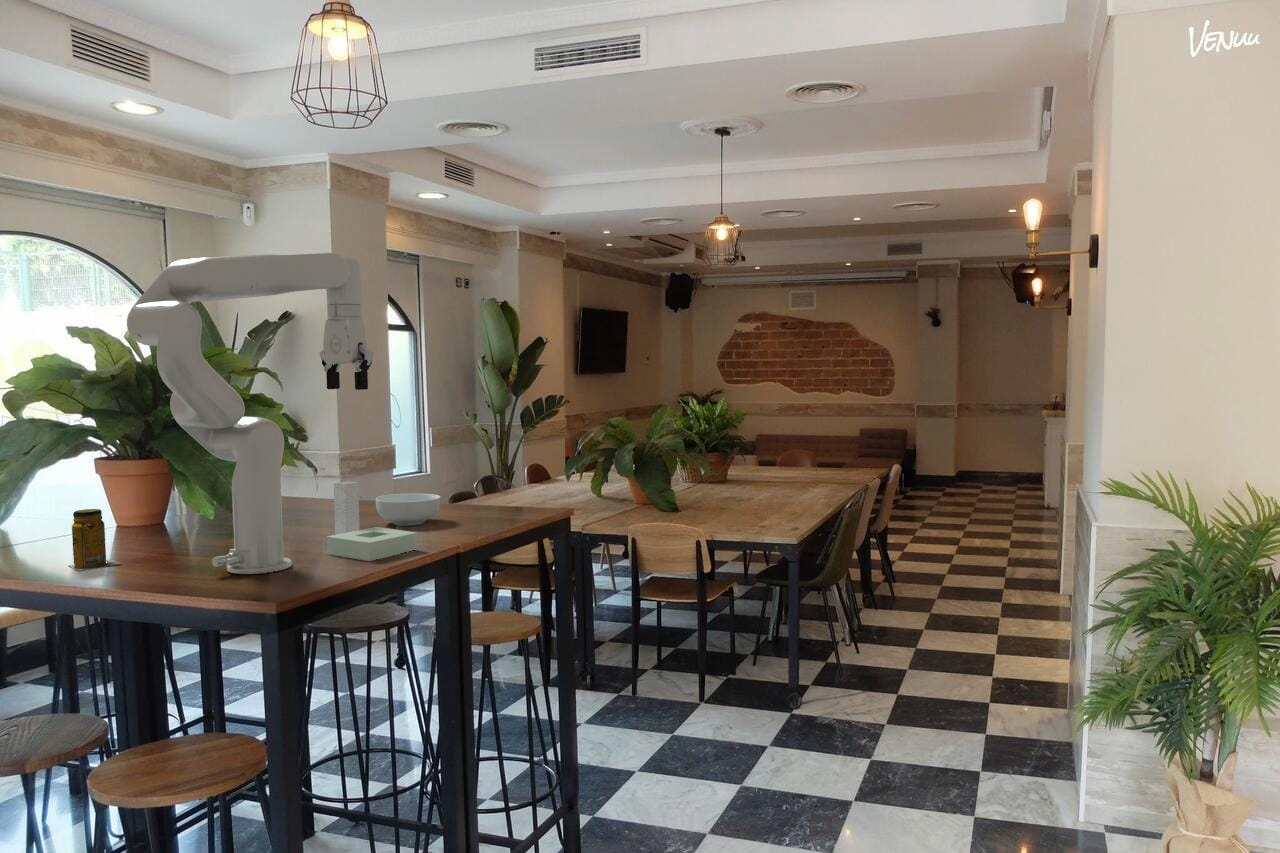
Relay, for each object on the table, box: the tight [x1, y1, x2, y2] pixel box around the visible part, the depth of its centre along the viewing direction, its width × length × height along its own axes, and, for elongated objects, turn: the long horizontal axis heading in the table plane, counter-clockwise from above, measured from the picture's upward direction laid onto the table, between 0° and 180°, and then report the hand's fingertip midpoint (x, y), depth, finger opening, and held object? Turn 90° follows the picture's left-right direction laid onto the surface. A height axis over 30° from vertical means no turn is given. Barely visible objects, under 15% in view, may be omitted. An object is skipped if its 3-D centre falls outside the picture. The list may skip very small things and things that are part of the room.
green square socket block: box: [326, 526, 419, 562], centre depth 216 cm, size 14×14×4 cm
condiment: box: [68, 508, 122, 571], centre depth 204 cm, size 7×8×12 cm
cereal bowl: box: [375, 492, 442, 526], centre depth 254 cm, size 17×17×7 cm
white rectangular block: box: [333, 480, 361, 535], centre depth 230 cm, size 4×4×14 cm
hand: (347, 389), depth 218 cm, fingers open, 9 cm apart
